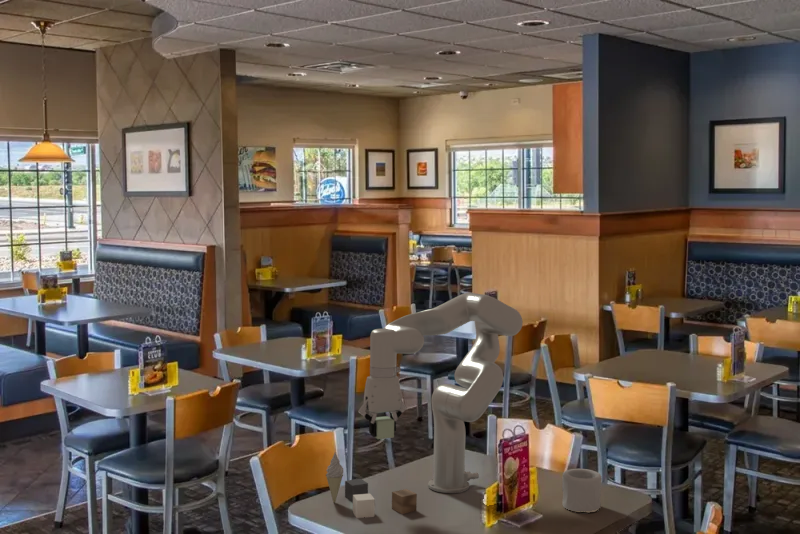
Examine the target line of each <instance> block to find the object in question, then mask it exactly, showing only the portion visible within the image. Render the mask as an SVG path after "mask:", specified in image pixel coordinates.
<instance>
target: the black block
mask: <svg viewBox="0 0 800 534" xmlns="http://www.w3.org/2000/svg"><path fill="white" fill-rule="evenodd" d="M358 494H369V483H368V482H367V481H365V480H364V479H362V478H355V479H348V480H345V481H344V498H346V499H347V500H348V501H350V502H351V503H353V495H358Z"/></svg>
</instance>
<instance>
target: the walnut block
mask: <svg viewBox="0 0 800 534" xmlns="http://www.w3.org/2000/svg"><path fill="white" fill-rule="evenodd" d="M417 498H418V494H417V493H416V492H414V491H412V490H410V489H407V488H405V489H400V490H395V491H391V509H392V510H393V511H395V512H398V513H399V514H400V515H404V514H405V515H406V514H408V513H409V514H410V513H413V512H417V507H418V506H417V504H418V503H417V502H418V501H417V500H418V499H417Z"/></svg>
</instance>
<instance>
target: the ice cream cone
mask: <svg viewBox="0 0 800 534" xmlns="http://www.w3.org/2000/svg"><path fill="white" fill-rule="evenodd" d="M326 472H327V473H326V474H325V477H326V480H327V484H328V488H329V490H330V491H329V492H330V495H331V499H332V503H333V504H334V503H336V501H337V498H338V493H339V491H340V486H341V483H342V480H343V476H344V467H343V466H342V464H341V463H340V460H339V458H338V455H337V452H336V451H334V454H333V456H332V458H331V459H330V464H329V465H328V466H327V468H326Z"/></svg>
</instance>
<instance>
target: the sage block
mask: <svg viewBox="0 0 800 534" xmlns="http://www.w3.org/2000/svg"><path fill="white" fill-rule="evenodd" d="M375 423H376V424H377V431H376V437H374V438H375V439H377V440H382V439H383V440H384V439H391V438H393V439H394V438H395V435H394V420H393V419H391V418H390V416H387V415H386V416H376V420H375Z"/></svg>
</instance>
